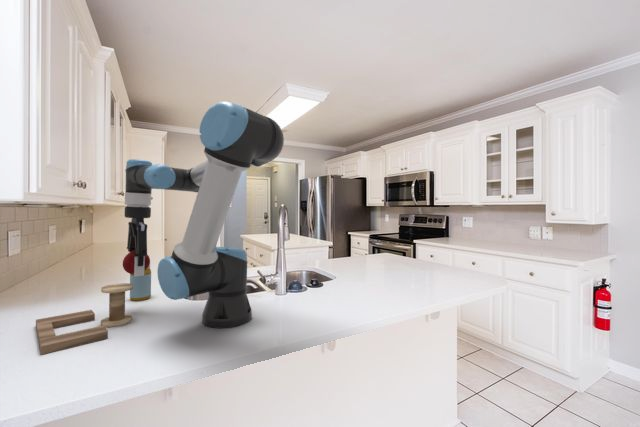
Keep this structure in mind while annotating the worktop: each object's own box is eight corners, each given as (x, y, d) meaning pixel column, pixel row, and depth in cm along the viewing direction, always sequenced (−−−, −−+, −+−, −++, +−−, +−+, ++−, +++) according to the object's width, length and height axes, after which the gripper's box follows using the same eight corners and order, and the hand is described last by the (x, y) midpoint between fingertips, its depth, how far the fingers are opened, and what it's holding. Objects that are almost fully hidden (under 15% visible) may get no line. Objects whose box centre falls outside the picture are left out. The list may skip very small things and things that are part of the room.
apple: (125, 277, 94) (126, 253, 93) (120, 273, 99) (120, 249, 99) (152, 274, 99) (153, 251, 99) (145, 270, 105) (146, 248, 104)
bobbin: (135, 322, 90) (136, 286, 90) (103, 329, 84) (104, 291, 84) (128, 315, 96) (129, 282, 96) (98, 321, 90) (98, 286, 90)
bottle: (154, 296, 117) (155, 259, 117) (142, 301, 110) (143, 262, 110) (138, 295, 118) (139, 258, 118) (125, 300, 111) (126, 261, 111)
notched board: (107, 338, 78) (107, 330, 78) (40, 354, 69) (40, 346, 69) (91, 315, 95) (91, 309, 95) (35, 326, 86) (35, 319, 86)
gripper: (159, 207, 94) (157, 278, 94) (142, 205, 109) (140, 266, 109) (132, 206, 89) (130, 281, 89) (118, 204, 103) (116, 268, 104)
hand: (135, 273), depth 99 cm, fingers closed on apple, 8 cm apart
